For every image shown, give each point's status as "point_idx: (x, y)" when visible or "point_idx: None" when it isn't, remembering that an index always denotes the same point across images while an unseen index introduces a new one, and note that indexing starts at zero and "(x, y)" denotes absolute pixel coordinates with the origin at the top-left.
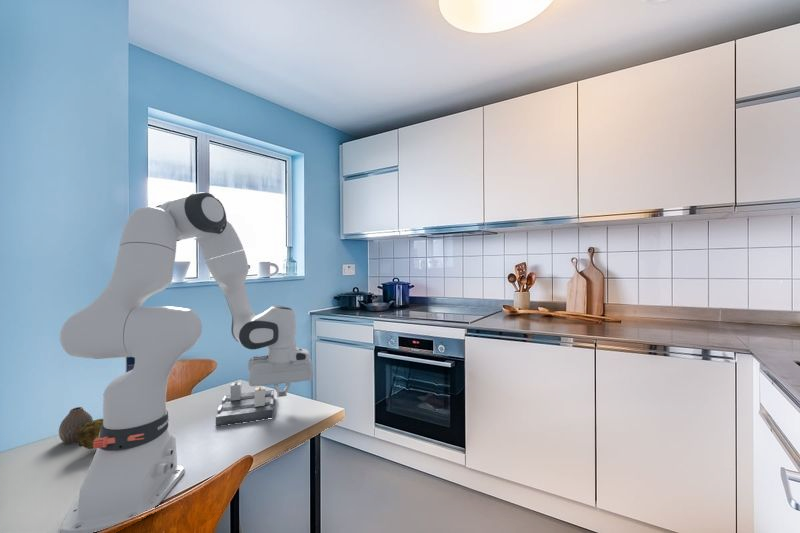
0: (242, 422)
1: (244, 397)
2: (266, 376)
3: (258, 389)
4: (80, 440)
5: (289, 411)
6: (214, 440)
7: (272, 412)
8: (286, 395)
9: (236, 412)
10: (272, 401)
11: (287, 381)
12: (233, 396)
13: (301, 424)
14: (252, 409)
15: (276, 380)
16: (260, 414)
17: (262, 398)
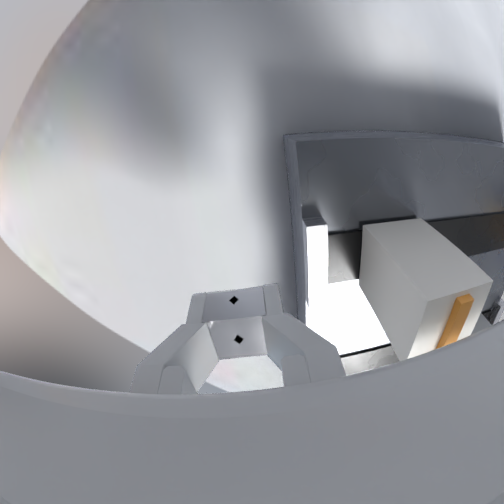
0: (437, 134)
1: None
2: (501, 442)
3: (461, 319)
4: None
5: (191, 232)
6: (481, 23)
7: (291, 138)
8: (193, 294)
9: (489, 171)
10: (312, 265)
11: (137, 407)
12: (483, 328)
13: (92, 49)
14: (429, 187)
15: (325, 430)
16: (372, 135)
17: (404, 251)
